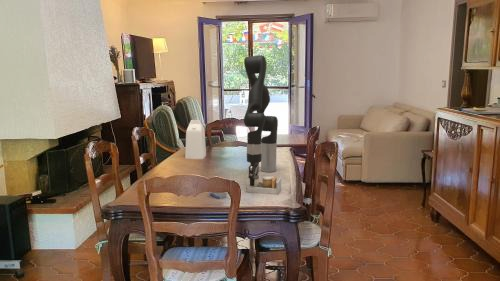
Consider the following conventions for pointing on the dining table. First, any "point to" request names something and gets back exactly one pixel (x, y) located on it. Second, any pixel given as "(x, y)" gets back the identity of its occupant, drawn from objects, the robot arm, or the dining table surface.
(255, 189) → the grey tray
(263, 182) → the brown jar
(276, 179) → the pusher
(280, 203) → the dining table surface
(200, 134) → the milk
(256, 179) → the cream jar
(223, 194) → the medicine box
